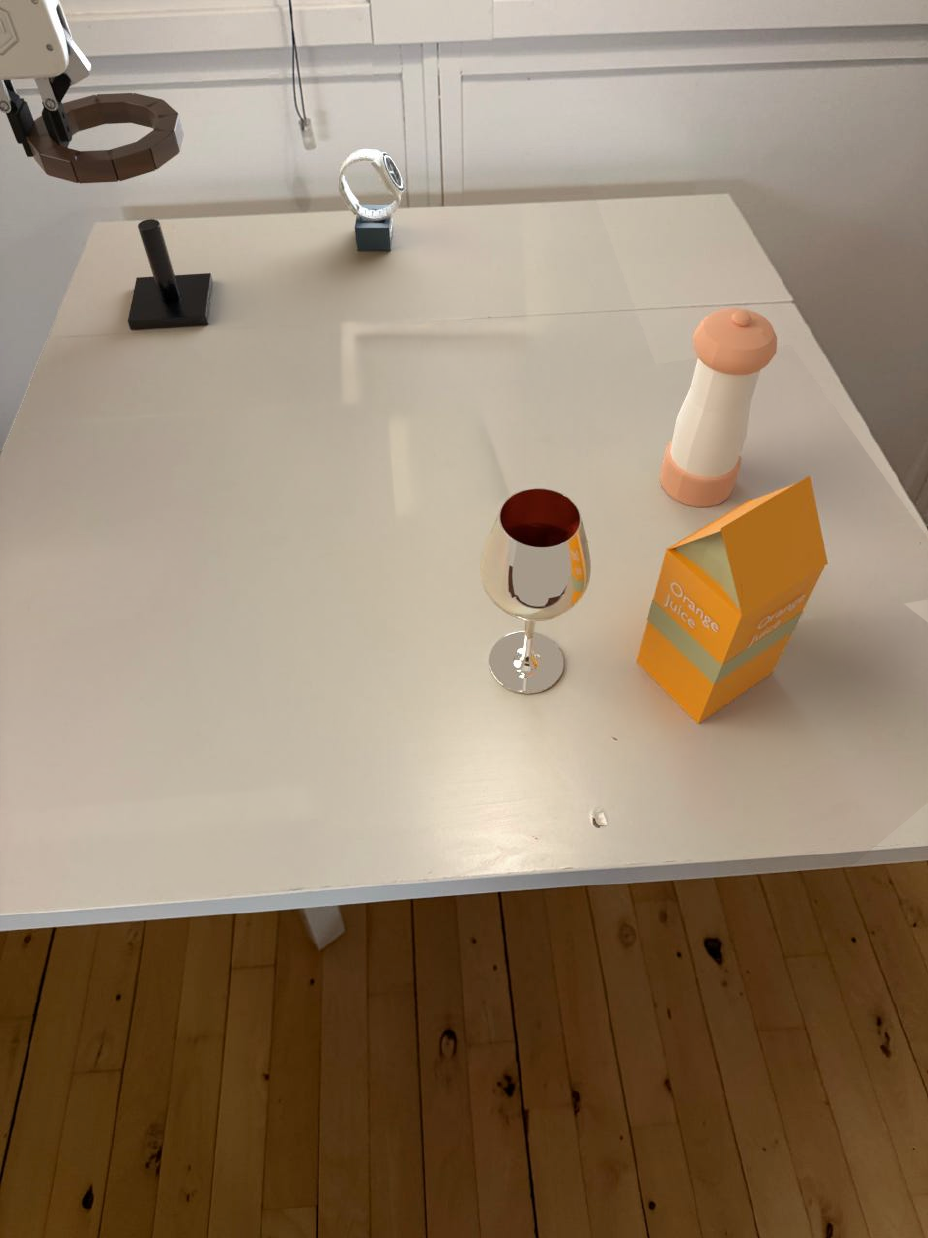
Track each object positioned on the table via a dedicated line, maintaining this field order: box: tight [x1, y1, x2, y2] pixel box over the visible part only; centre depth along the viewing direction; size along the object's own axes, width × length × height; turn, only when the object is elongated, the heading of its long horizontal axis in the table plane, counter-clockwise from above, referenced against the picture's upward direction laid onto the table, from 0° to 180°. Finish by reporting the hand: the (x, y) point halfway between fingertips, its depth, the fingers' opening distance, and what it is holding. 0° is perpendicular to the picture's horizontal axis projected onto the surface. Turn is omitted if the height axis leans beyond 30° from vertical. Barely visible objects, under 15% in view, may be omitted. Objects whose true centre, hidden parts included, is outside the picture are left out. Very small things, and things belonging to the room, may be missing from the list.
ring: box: [27, 92, 184, 184], centre depth 85 cm, size 14×14×2 cm
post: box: [127, 218, 213, 331], centre depth 104 cm, size 9×9×10 cm
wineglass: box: [479, 487, 592, 695], centre depth 70 cm, size 8×8×18 cm
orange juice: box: [636, 474, 828, 725], centre depth 68 cm, size 8×9×20 cm
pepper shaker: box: [659, 307, 778, 508], centre depth 82 cm, size 7×7×19 cm
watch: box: [338, 148, 405, 252], centre depth 113 cm, size 6×8×11 cm
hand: (48, 147), depth 86 cm, fingers closed on ring, 2 cm apart
